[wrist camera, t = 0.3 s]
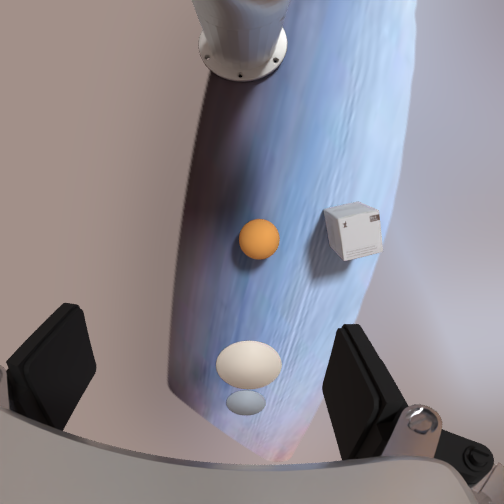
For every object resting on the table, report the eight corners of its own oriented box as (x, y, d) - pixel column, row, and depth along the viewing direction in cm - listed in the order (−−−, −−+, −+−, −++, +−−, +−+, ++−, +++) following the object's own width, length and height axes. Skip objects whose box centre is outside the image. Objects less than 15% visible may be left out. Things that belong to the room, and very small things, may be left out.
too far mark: (226, 389, 54) (226, 389, 54) (267, 390, 54) (267, 391, 54) (226, 413, 56) (226, 414, 56) (263, 415, 57) (263, 415, 56)
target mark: (216, 338, 50) (216, 339, 50) (285, 341, 50) (285, 342, 50) (216, 386, 54) (216, 387, 53) (277, 389, 54) (277, 389, 54)
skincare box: (328, 246, 45) (343, 263, 38) (322, 208, 43) (336, 218, 36) (364, 237, 45) (383, 252, 38) (359, 200, 43) (379, 209, 36)
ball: (240, 214, 43) (239, 223, 38) (278, 216, 43) (283, 225, 38) (238, 250, 45) (237, 264, 39) (275, 252, 45) (279, 266, 40)
